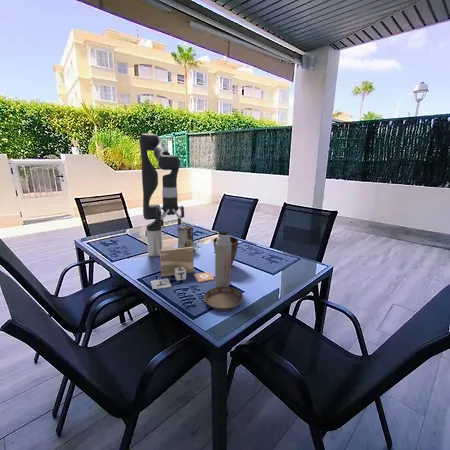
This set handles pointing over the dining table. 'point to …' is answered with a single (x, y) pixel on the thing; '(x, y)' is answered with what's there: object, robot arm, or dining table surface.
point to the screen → (176, 260)
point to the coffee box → (185, 237)
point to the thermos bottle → (223, 260)
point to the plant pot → (233, 247)
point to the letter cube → (180, 273)
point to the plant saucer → (223, 298)
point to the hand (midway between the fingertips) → (170, 225)
